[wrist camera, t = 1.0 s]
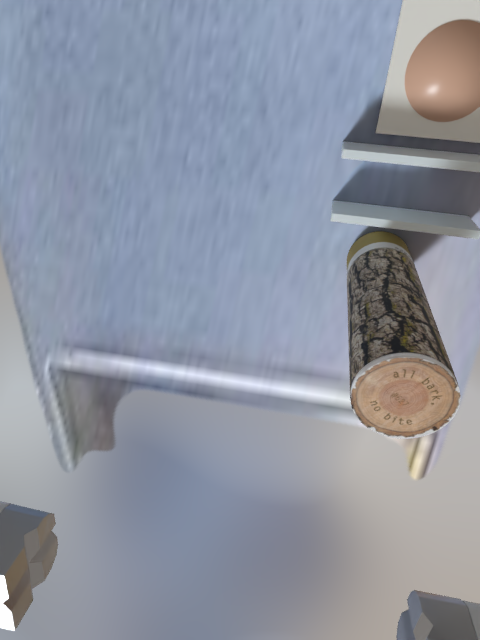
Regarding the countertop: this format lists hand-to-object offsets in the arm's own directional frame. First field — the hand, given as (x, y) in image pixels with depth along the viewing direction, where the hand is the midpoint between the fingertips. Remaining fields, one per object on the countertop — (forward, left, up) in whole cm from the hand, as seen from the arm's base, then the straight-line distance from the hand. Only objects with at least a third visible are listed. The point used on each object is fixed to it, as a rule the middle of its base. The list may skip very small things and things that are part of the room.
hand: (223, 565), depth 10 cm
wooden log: (+9, +8, -44) cm, 45 cm away
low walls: (0, +9, -43) cm, 44 cm away
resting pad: (-10, +11, -43) cm, 46 cm away
